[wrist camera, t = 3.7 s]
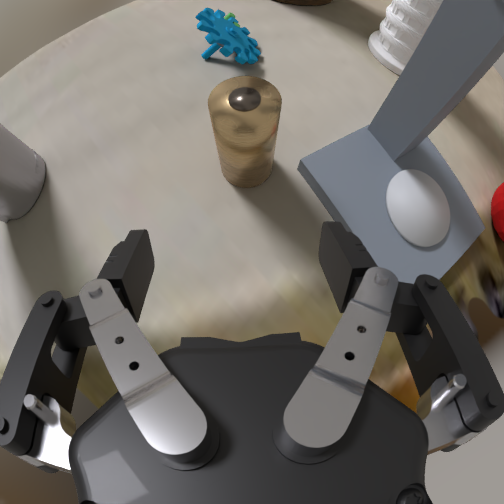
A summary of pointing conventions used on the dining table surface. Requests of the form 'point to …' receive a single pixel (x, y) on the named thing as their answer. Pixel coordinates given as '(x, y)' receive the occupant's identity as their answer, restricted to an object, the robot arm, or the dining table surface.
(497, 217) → the tomato
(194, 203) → the dining table surface
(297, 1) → the wooden container
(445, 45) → the press
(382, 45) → the decorative container
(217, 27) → the gear
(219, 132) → the disc
